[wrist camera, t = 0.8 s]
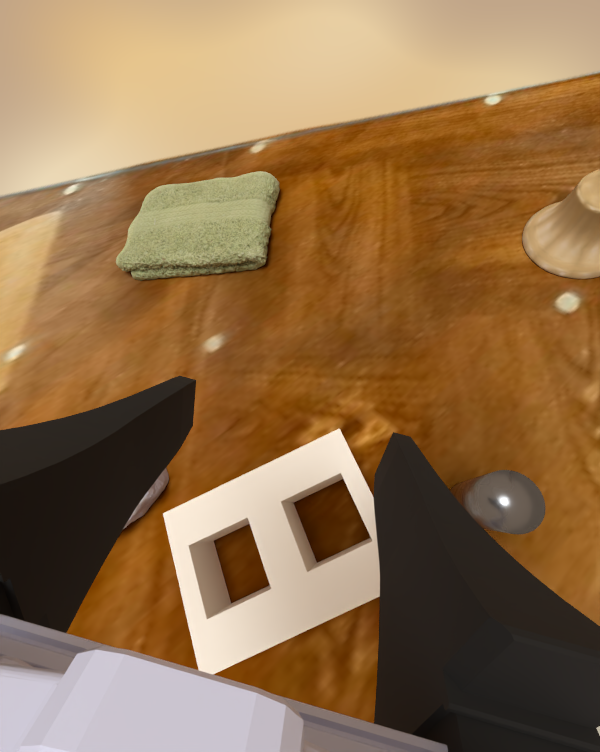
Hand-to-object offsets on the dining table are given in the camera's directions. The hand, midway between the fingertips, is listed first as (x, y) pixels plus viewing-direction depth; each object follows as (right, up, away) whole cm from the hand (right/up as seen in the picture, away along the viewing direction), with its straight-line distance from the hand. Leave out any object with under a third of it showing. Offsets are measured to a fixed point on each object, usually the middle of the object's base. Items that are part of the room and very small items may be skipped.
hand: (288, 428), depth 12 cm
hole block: (0, -10, +14) cm, 17 cm away
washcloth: (-11, +18, +28) cm, 35 cm away
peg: (+13, -7, +12) cm, 19 cm away
